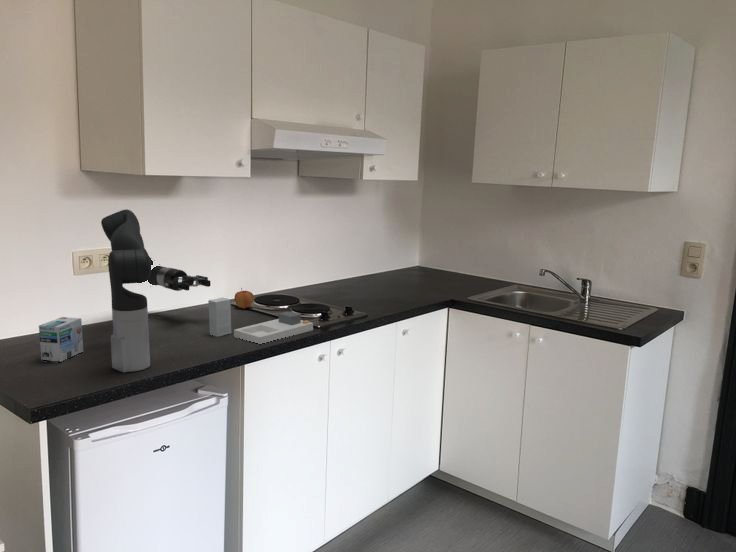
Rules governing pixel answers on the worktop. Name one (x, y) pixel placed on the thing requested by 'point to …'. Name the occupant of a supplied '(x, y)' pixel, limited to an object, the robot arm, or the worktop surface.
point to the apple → (243, 299)
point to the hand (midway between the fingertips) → (199, 285)
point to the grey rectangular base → (274, 328)
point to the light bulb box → (61, 338)
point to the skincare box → (219, 317)
